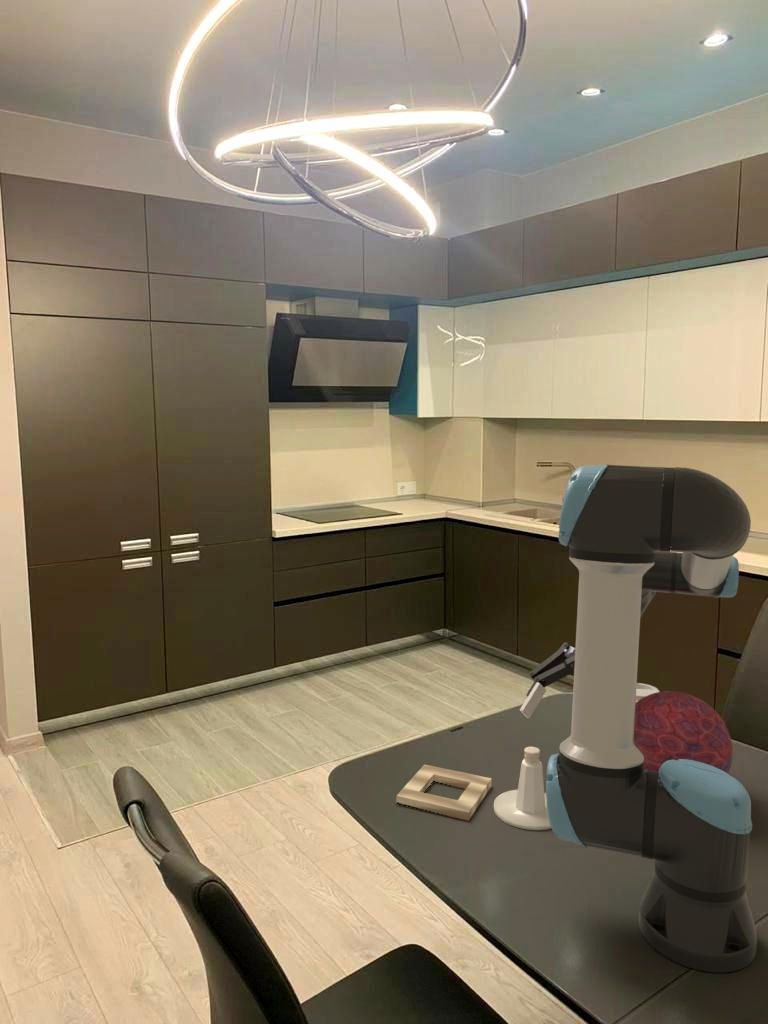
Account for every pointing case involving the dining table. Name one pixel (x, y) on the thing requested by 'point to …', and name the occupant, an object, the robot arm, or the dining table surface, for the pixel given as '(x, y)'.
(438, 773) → the birch frame
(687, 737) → the decorative sphere
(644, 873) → the dining table surface
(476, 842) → the dining table surface
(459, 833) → the dining table surface
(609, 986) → the dining table surface
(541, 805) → the pepper shaker
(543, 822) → the white plate
